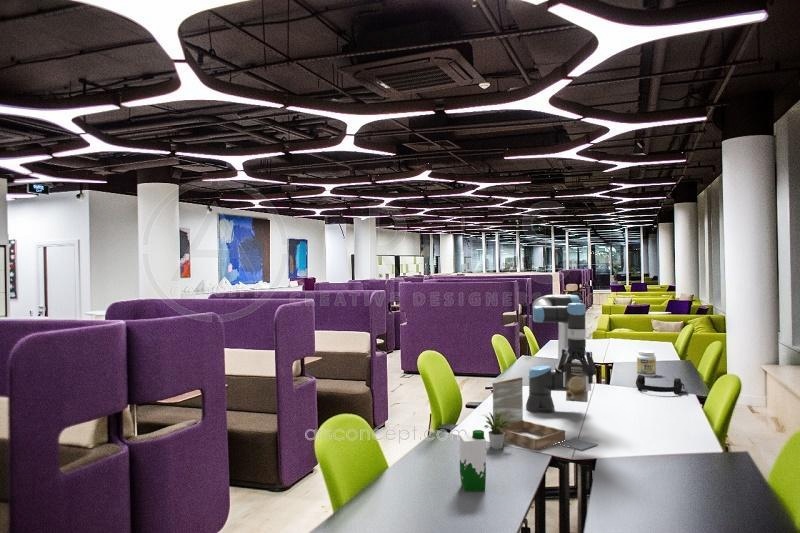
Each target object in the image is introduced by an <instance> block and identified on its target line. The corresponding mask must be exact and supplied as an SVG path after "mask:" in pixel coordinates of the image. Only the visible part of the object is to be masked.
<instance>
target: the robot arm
mask: <svg viewBox="0 0 800 533" xmlns="http://www.w3.org/2000/svg"><path fill="white" fill-rule="evenodd" d="M580 299H581V298H580V297H579V295H576V294H546V295H541V296H539V297H538V298H536V299H535V300H533V302H532V321H533V322H534V323H539V324H540V323H557V324H558V343H557V344H558V345H557V346H558V347H557V348H558V349H557V350H558V351H557V352H558V353H557V354H558V355H557V357H558V358H557V362H558V363H556V365H555V367H554V368H552V367H551V366H550V365H538V366H533V367H530V368H529V370H528V378H529V379H528V380H529V381H528V398H527V400H526V403H525V409H526V410H527V411H528V412H533V413H541V414H542V413H543V414H545V413H553V412H554V411H555V403H554V400H553V397H552V392H556V391H557V392H566V367H567V363H571V362H575V363H576V361H579V363H582V365H583V366H584V369H585V371H586V373H587V376H586V391H588V392H591V391H592V384H593V383H594V382H593V381H594V380H593V379H594V377H593V376H596V375H598V372H597V368H596V365H595V362H594V361H595V360H594V358H593V352H592V351H586V346H587V344H586V343H587V342H586V338H587V336H586V335H587V334H586V330H587V329H586V313H587V312H586V304H585V303H582V302H581V300H580ZM586 365H588V367H587V366H586Z"/></svg>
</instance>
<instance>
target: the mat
mask: <svg viewBox="0 0 800 533" xmlns="http://www.w3.org/2000/svg"><path fill="white" fill-rule="evenodd" d="M558 444H561V445H565V446H569V447H572V448H575V449H574V450H576V449H577V450H576V451H579V450H580V452H584V451H586V450H588V448H589V449H591V447H592V448H594V447H597V446H598V443H595V442H593V441H589V440H588V441H587V440H584V439H579V438H576V437H572V438H569V439H565V441H563V442H560V443H557V445H558ZM561 445H560V446H561ZM596 445H597V446H596ZM565 446H564V447H565ZM593 446H594V447H593ZM569 447H568V448H569ZM572 448H571V449H572Z"/></svg>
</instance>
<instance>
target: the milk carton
mask: <svg viewBox="0 0 800 533" xmlns="http://www.w3.org/2000/svg"><path fill="white" fill-rule="evenodd" d="M486 447H487V442H486V438H485V431H484V430H482V429H481V430H480V429H475V430H472V434H469V433H468V434H460V435H459V476H460V482H461V483H460V484H461V486H462V488H463V490H464V492H465V493H470V492H473V493H474V492H486V480H487V479H486V478H487V454H486V453H487V451H486V450H487V449H486Z"/></svg>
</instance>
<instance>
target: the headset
mask: <svg viewBox="0 0 800 533" xmlns="http://www.w3.org/2000/svg"><path fill="white" fill-rule="evenodd" d="M681 380H682V379H681V378H680V377H677V378H676V377H675V378H674V379H673V380H672V382H673V386H655V385H649V384H648V385H647V384H646V377H644V375H638V374H637V377H636V380H635V385H636V386H635V387H636V388H637V390H638V391H643V390H644V391H649V392H656V393H674V394H678V395H679V394H681V392H682V390H686V388H685V384H684V383H683V382H682V381H681ZM666 381H669V380H667V379H666Z"/></svg>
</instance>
